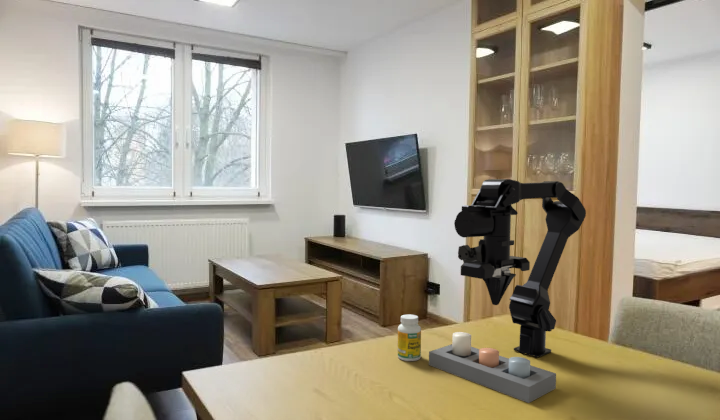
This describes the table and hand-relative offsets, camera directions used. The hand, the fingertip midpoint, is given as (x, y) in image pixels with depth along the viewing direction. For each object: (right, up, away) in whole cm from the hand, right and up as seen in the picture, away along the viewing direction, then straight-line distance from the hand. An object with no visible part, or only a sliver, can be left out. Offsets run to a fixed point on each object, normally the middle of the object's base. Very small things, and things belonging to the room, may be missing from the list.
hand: (495, 304), depth 107 cm
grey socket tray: (-4, -13, -8) cm, 16 cm away
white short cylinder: (-8, -10, -2) cm, 13 cm away
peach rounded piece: (-4, -12, -8) cm, 15 cm away
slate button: (+1, -12, -13) cm, 18 cm away
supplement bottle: (-19, -13, +3) cm, 23 cm away
